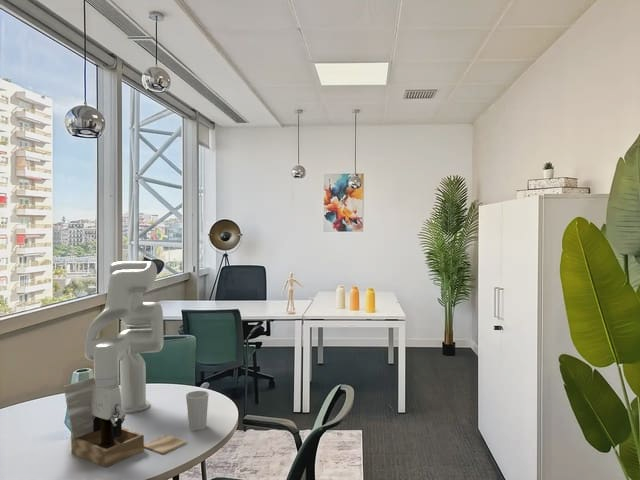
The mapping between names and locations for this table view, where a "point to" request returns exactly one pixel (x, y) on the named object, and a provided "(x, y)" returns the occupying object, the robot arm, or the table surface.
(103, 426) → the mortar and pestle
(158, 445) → the cork mat
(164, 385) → the table surface
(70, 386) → the cold frame
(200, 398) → the cup
